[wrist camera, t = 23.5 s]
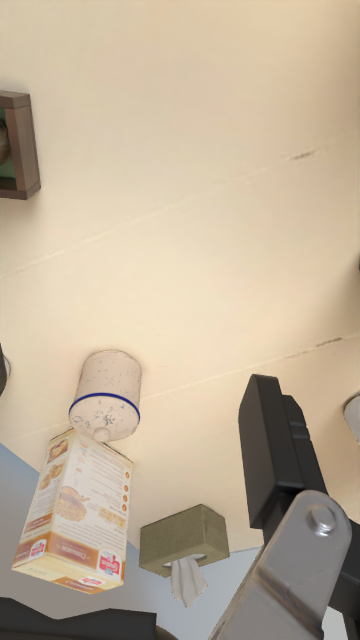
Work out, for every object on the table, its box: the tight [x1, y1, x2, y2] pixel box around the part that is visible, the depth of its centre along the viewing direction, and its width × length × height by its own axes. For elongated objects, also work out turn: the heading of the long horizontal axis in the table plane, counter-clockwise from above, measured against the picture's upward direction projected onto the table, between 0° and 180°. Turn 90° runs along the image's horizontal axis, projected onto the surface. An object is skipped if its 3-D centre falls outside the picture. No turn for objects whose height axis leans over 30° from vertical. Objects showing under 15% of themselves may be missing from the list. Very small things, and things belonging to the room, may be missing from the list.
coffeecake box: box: [12, 428, 133, 594], centre depth 55 cm, size 15×7×20 cm, turn 36°
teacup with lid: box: [69, 351, 141, 442], centre depth 47 cm, size 12×9×12 cm
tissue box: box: [139, 504, 230, 608], centre depth 75 cm, size 19×10×16 cm, turn 127°
